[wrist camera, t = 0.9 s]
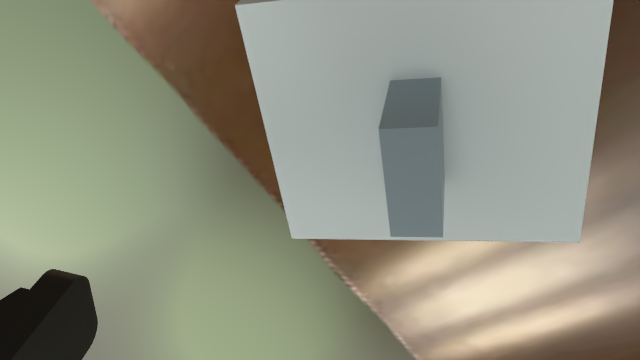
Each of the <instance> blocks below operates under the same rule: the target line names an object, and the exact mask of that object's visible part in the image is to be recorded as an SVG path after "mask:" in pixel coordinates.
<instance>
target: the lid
mask: <svg viewBox="0 0 640 360" xmlns="http://www.w3.org/2000/svg"><path fill="white" fill-rule="evenodd" d="M235 8H236V12H237V16H238V20H239V24H240V28H241V32H242V36H243V40H244V45H245V49H246V53H247V57H248V61H249V65H250V69H251V73H252V77H253V81H254V85H255V89H256V94H257V98H258V102H259V106H260V110H261V114H262V118H263V122H264V126H265V130H266V134H267V139H268V143H269V147H270V151H271V155H272V159H273V163H274V167H275V171H276V175H277V179H278V183H279V188H280V192H281V196H282V200H283V204H284V208H285V212H286V216H287V220H288V224H289V228H290V232H291V237H292V238H295V239H296V238H297V239H367V240H439V241H512V242H580V236H581V229H582V222H583V215H584V208H585V201H586V194H587V186H588V179H589V172H590V165H591V158H592V151H593V143H594V136H595V129H596V122H597V115H598V108H599V101H600V93H601V86H602V79H603V72H604V65H605V58H606V50H607V43H608V36H609V29H610V22H611V15H612V8H613V0H240V1H239V2H238V3H237V4H236V5H235Z"/></svg>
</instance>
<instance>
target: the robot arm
mask: <svg viewBox="0 0 640 360" xmlns="http://www.w3.org/2000/svg"><path fill="white" fill-rule="evenodd" d="M97 325H98V322H97V315H96V311H95V306H94V302H93V297H92V293H91V288H90V284H89V280H88V279H87V278H86V277H84V276H81V275H76V274H72V273H68V272H64V271H60V270H56V269H52V270H49V271H47V272H46V273H44V274H43V275H42V276H41V278H40V279H39V280H38V281H37V282H36V283H35V284H34V285H33V287H32V288H31V289H30V290H29V289H25V288H19V289H17V290H16V291H14V292H13V293H11V294H9V295H8V296H6V297H5V298H3V299H1V300H0V360H82V358H83V357H84V355H85V354H86V352H87V351H88V349H89V348H90V346H91V344H92V342H93V340H94V338H95V334H96V331H97Z"/></svg>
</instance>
